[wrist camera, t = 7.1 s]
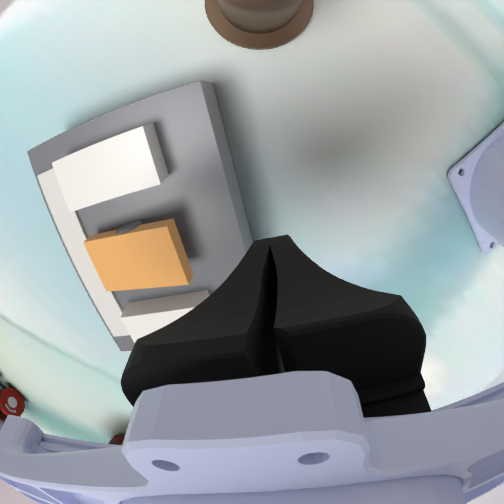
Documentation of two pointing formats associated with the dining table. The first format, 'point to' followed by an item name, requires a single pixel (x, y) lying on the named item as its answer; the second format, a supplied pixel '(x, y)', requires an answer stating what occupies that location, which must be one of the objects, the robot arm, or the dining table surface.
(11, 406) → the toy fire truck
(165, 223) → the breaker paddle
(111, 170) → the switch box
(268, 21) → the walnut post
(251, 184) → the dining table surface
